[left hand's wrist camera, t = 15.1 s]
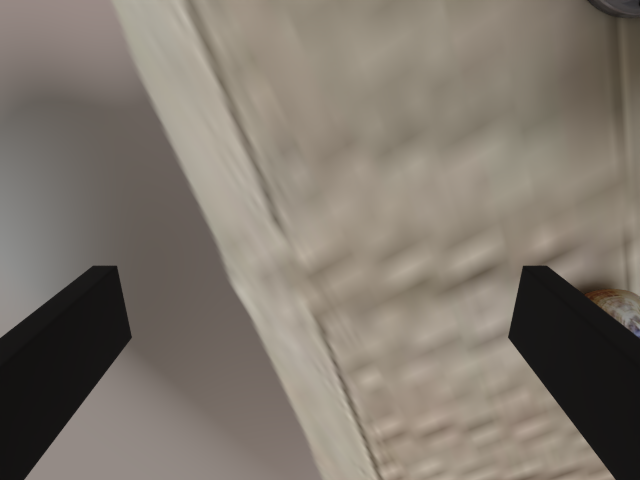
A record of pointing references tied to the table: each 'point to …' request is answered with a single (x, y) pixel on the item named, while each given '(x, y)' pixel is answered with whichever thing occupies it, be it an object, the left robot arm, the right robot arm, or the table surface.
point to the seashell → (619, 306)
